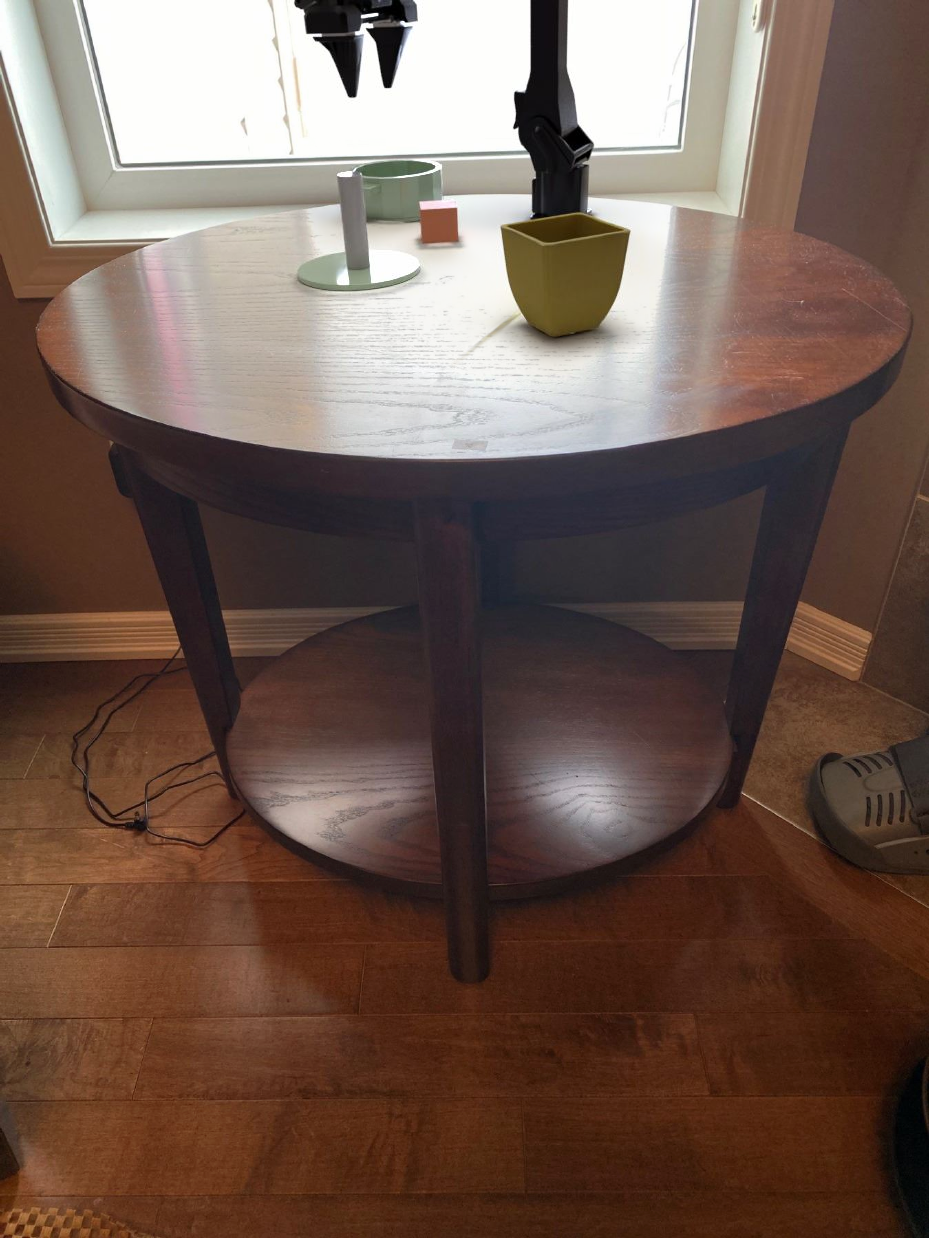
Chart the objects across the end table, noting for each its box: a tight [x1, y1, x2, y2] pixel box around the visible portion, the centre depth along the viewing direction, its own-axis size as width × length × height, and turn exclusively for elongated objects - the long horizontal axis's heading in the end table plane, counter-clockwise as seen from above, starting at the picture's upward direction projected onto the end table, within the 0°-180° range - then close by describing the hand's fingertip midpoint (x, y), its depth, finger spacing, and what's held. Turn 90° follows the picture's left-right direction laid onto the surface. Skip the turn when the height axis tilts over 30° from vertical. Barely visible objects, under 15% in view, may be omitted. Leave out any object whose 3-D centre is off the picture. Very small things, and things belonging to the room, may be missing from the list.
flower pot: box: [500, 213, 631, 338], centre depth 84 cm, size 9×9×9 cm
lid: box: [297, 171, 421, 292], centre depth 99 cm, size 14×14×11 cm
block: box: [419, 199, 459, 244], centre depth 111 cm, size 4×4×4 cm
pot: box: [347, 158, 444, 223], centre depth 125 cm, size 13×18×6 cm
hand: (370, 93), depth 121 cm, fingers open, 9 cm apart
